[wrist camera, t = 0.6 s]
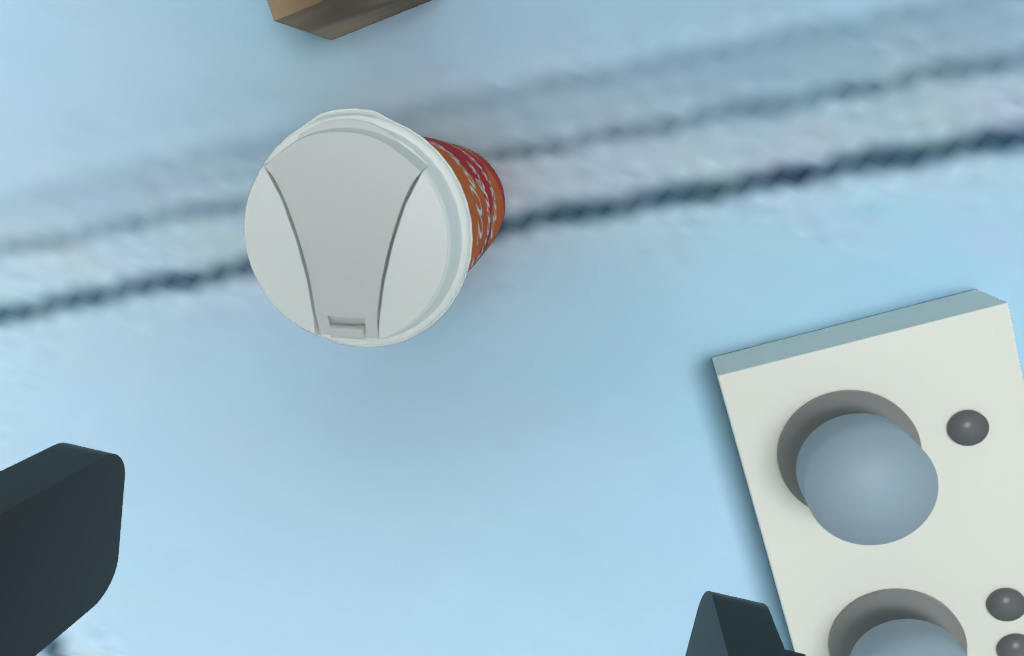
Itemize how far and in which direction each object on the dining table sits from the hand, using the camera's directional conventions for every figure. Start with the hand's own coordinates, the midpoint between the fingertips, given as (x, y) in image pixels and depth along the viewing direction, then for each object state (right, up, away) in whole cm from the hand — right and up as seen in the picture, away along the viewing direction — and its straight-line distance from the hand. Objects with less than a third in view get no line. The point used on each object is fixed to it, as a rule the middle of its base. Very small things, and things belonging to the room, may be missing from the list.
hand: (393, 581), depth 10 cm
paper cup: (-1, +10, +27) cm, 29 cm away
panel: (+22, -10, +28) cm, 37 cm away
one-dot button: (+16, -3, +22) cm, 28 cm away
